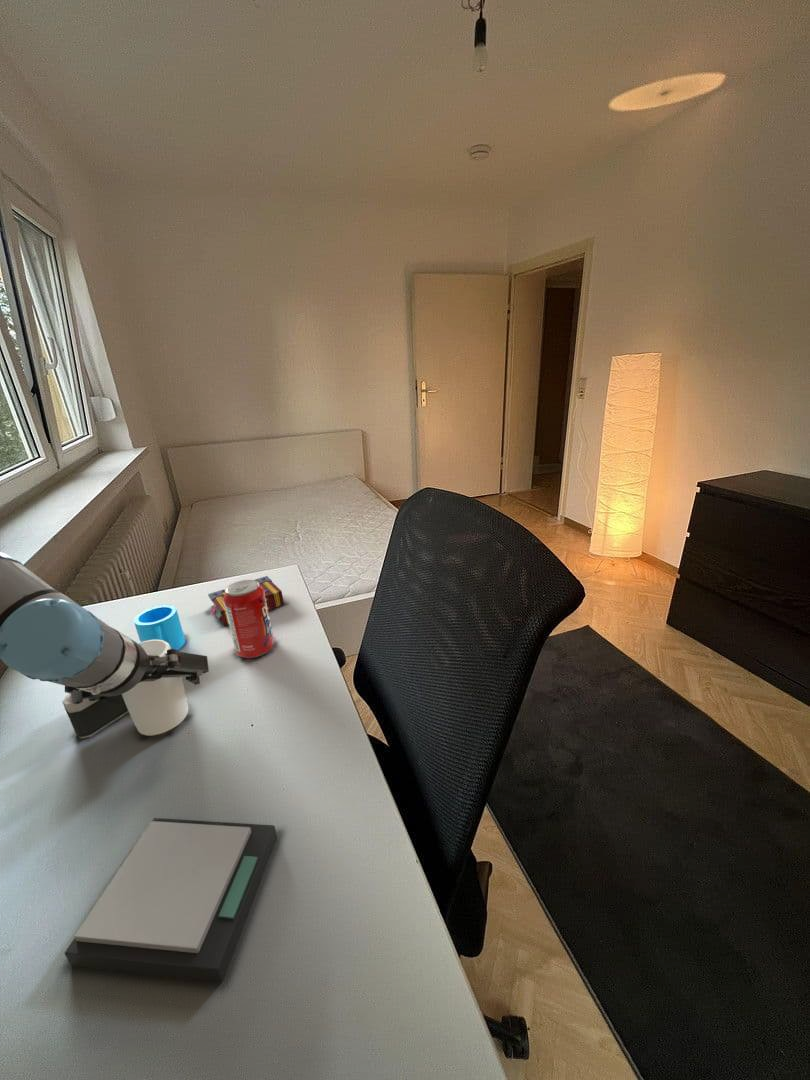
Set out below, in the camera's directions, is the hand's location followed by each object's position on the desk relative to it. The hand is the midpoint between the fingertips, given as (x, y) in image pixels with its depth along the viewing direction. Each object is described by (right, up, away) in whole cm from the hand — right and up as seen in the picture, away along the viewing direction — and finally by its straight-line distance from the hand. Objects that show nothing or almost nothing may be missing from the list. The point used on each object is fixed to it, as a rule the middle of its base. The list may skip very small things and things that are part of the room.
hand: (158, 685), depth 75 cm
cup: (+1, -6, 0) cm, 7 cm away
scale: (+17, -15, -26) cm, 35 cm away
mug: (-10, +1, +20) cm, 22 cm away
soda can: (+10, +1, +18) cm, 21 cm away
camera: (-9, -5, +5) cm, 12 cm away
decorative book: (+2, +7, +35) cm, 36 cm away
